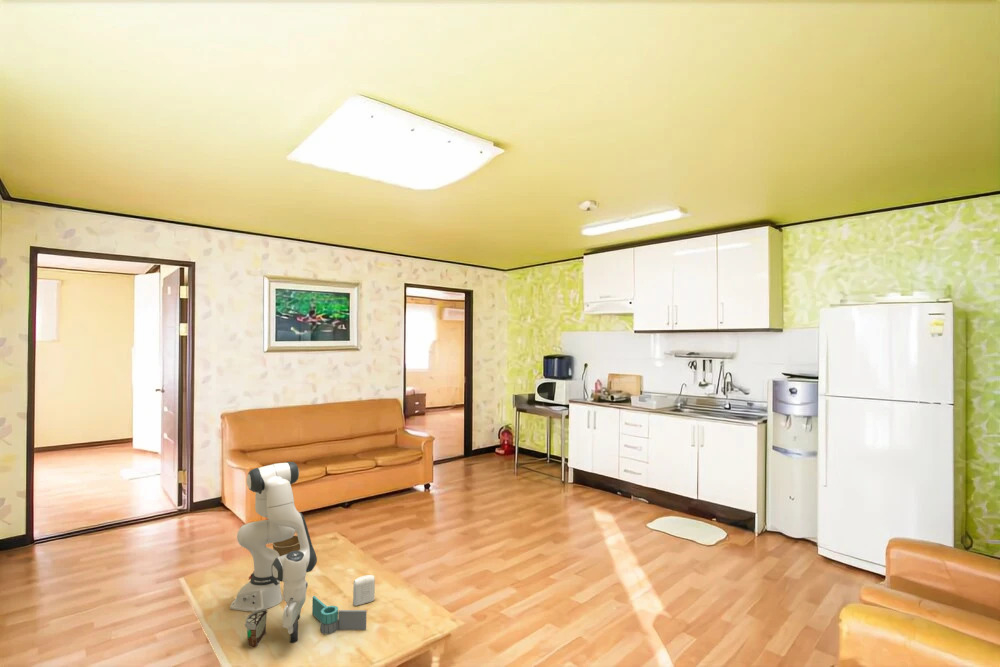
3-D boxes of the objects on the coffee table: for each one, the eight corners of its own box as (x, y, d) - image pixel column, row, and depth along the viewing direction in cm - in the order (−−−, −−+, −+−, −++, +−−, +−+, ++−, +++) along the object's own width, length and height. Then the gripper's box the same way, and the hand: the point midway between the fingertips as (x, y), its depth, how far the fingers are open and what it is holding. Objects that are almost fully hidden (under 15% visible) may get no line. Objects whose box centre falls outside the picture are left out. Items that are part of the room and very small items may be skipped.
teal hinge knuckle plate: (340, 628, 210) (340, 610, 210) (325, 635, 205) (325, 616, 205) (320, 610, 223) (320, 593, 223) (305, 616, 218) (306, 599, 218)
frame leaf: (318, 634, 206) (318, 615, 206) (324, 624, 213) (324, 606, 213) (363, 634, 206) (363, 615, 206) (368, 624, 213) (368, 606, 213)
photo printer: (372, 597, 236) (373, 571, 236) (375, 601, 233) (376, 575, 233) (351, 603, 231) (352, 577, 231) (354, 607, 227) (354, 581, 227)
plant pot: (266, 571, 261) (267, 542, 262) (292, 561, 274) (292, 533, 274) (282, 579, 253) (282, 549, 253) (307, 568, 265) (307, 539, 265)
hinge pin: (288, 642, 200) (289, 613, 200) (292, 638, 203) (292, 609, 203) (296, 642, 200) (296, 613, 200) (299, 638, 203) (299, 609, 203)
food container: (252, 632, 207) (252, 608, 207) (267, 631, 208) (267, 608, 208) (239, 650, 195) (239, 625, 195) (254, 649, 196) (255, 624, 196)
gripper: (295, 605, 192) (294, 640, 192) (308, 580, 212) (308, 611, 212) (278, 606, 191) (278, 641, 191) (294, 581, 211) (293, 612, 211)
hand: (294, 625), depth 202 cm, fingers open, 8 cm apart
